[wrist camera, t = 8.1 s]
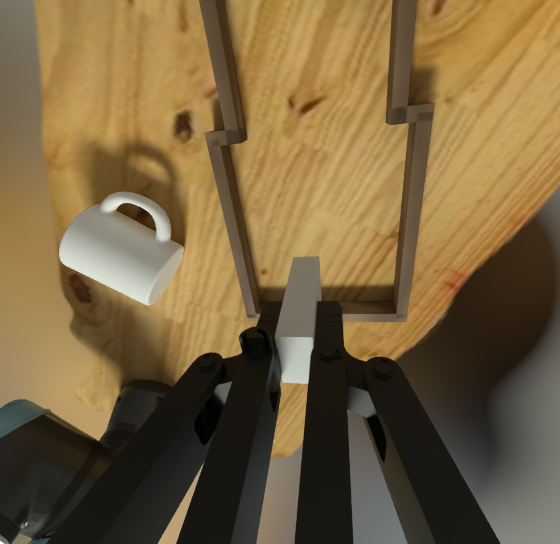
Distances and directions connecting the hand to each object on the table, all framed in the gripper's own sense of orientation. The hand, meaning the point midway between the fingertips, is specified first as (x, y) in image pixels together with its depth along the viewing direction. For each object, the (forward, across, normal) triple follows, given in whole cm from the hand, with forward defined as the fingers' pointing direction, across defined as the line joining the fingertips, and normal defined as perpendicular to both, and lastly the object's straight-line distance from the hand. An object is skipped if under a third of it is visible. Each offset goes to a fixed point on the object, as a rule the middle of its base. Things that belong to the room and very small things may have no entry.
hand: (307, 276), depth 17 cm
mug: (+16, -21, -2) cm, 26 cm away
